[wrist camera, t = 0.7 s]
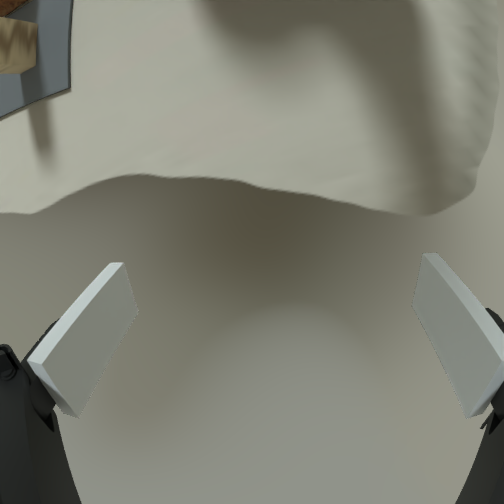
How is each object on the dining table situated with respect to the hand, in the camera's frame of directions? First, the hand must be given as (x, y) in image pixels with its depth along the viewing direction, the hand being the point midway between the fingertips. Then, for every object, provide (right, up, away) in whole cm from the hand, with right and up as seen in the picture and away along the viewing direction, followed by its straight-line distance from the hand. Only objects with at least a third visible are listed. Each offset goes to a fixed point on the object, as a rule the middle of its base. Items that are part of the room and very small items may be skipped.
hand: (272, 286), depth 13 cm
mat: (-41, +34, +18) cm, 57 cm away
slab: (-37, +34, +17) cm, 53 cm away
